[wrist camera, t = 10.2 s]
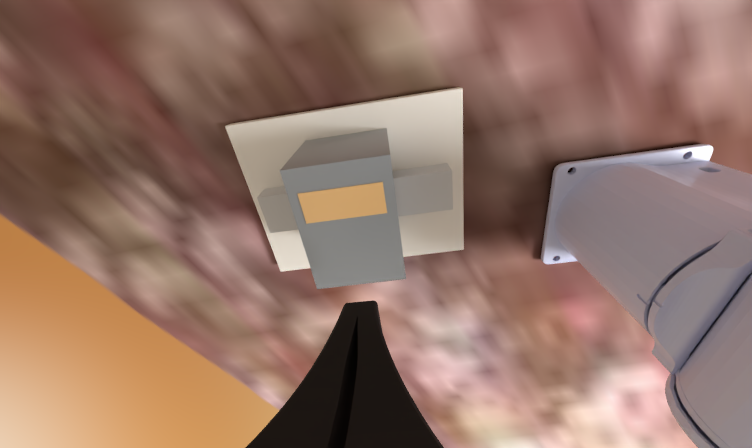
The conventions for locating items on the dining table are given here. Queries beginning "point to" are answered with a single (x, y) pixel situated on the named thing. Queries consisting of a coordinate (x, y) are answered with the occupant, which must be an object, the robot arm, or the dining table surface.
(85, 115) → the dining table surface
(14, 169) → the dining table surface
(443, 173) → the rail board
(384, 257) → the module
